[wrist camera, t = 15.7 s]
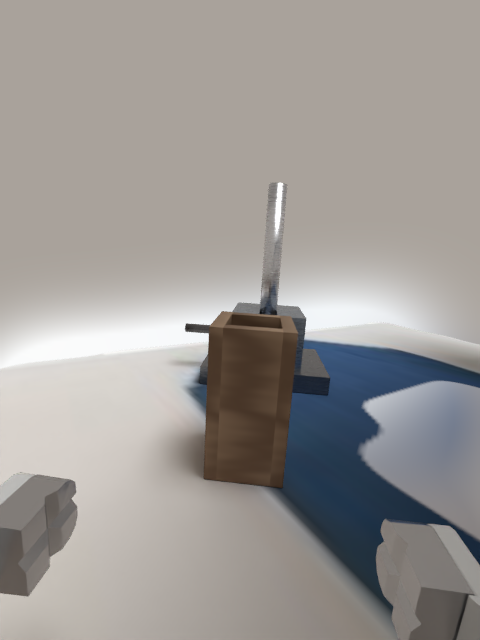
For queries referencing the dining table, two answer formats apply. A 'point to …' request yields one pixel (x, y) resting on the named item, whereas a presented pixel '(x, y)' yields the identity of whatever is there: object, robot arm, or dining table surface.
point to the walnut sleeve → (249, 397)
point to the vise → (307, 363)
